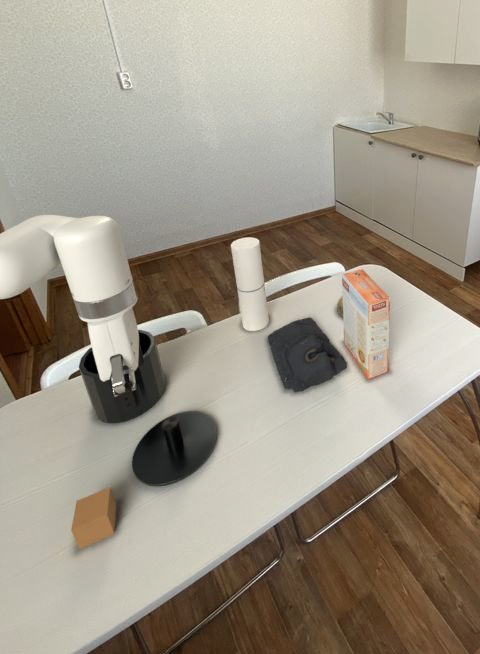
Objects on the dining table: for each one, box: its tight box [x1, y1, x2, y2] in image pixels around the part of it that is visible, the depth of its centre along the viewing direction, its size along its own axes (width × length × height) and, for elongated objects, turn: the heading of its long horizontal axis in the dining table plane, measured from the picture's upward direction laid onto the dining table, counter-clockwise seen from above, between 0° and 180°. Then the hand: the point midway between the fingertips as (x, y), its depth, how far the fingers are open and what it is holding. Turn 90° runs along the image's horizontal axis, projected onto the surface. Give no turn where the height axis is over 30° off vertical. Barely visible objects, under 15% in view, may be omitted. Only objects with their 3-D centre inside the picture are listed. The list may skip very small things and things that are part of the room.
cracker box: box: [341, 268, 391, 380], centre depth 91 cm, size 14×6×21 cm, turn 25°
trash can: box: [78, 329, 166, 424], centre depth 82 cm, size 14×14×12 cm
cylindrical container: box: [230, 236, 270, 332], centre depth 103 cm, size 7×7×25 cm
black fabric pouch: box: [267, 316, 347, 393], centre depth 95 cm, size 15×22×5 cm
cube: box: [70, 486, 118, 550], centre depth 60 cm, size 5×5×5 cm
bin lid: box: [131, 410, 217, 488], centre depth 72 cm, size 15×15×7 cm
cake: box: [336, 295, 343, 318], centre depth 112 cm, size 10×10×5 cm
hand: (133, 386), depth 63 cm, fingers open, 9 cm apart
